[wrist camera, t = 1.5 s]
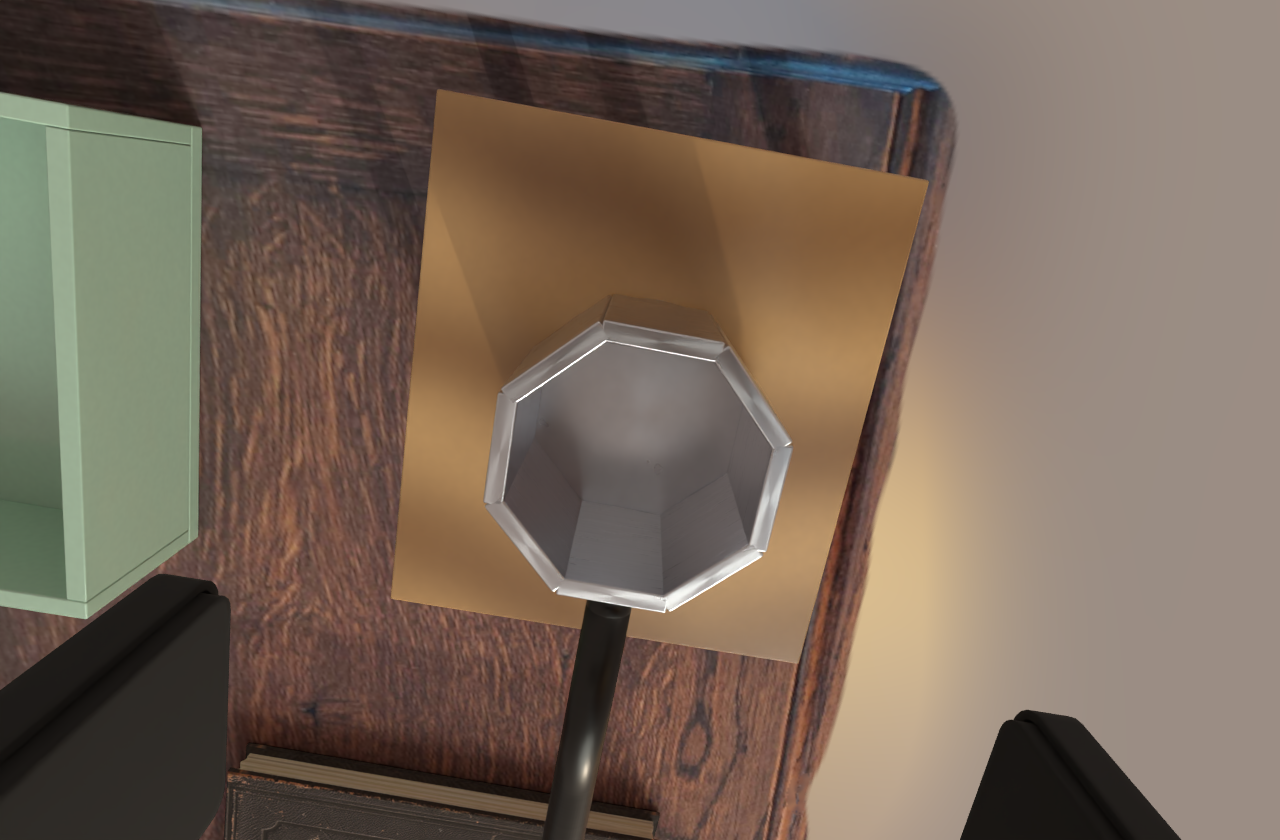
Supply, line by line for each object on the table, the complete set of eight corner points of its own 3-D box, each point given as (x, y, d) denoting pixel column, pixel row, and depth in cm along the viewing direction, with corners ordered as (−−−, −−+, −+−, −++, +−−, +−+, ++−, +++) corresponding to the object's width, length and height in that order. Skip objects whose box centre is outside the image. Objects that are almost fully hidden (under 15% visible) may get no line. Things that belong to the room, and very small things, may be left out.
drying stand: (512, 129, 32) (436, 88, 20) (830, 188, 33) (930, 180, 21) (471, 474, 36) (390, 599, 25) (752, 520, 37) (798, 664, 25)
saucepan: (543, 277, 22) (509, 301, 17) (776, 321, 22) (816, 359, 17) (476, 731, 26) (432, 866, 21) (670, 762, 27) (676, 904, 21)
